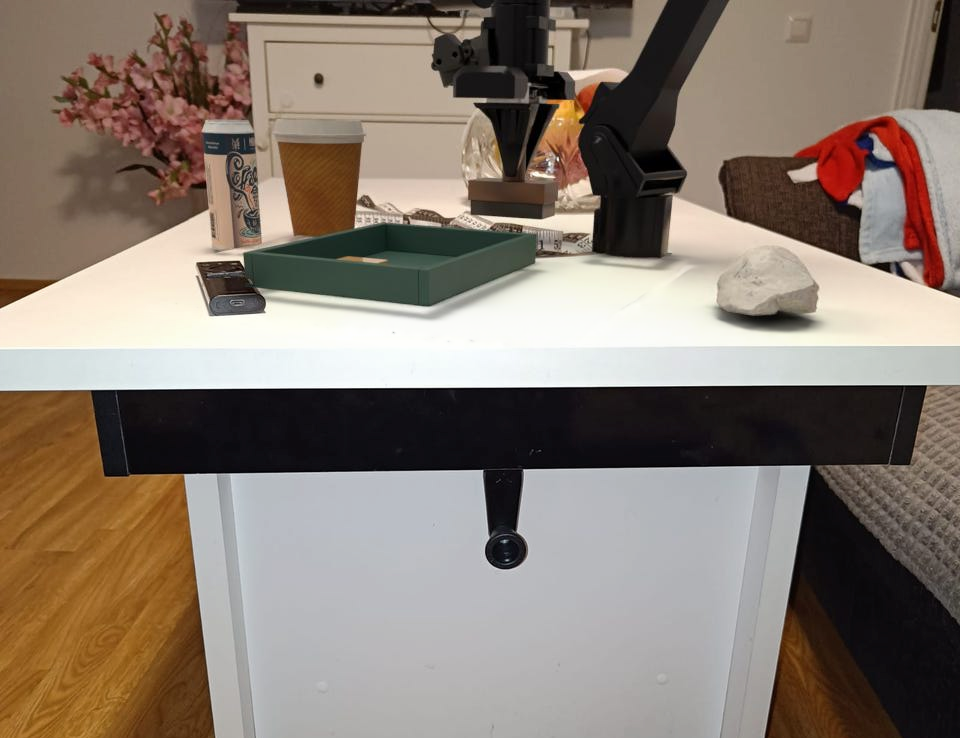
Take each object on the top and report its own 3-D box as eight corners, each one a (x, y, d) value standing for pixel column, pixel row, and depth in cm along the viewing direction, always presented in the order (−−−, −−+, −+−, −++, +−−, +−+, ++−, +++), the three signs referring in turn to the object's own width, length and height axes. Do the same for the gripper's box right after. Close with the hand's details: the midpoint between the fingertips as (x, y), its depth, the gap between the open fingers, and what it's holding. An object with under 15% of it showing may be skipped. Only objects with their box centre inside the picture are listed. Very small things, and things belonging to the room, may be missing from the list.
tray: (535, 271, 84) (536, 233, 83) (428, 317, 65) (428, 270, 64) (383, 257, 89) (382, 222, 88) (245, 296, 71) (242, 252, 70)
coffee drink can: (249, 255, 89) (239, 121, 84) (203, 253, 90) (191, 120, 85) (270, 248, 93) (261, 120, 89) (225, 246, 94) (215, 119, 89)
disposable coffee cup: (386, 238, 101) (384, 120, 96) (328, 249, 94) (323, 121, 89) (320, 231, 106) (315, 118, 101) (259, 240, 98) (251, 118, 94)
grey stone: (846, 322, 66) (858, 251, 65) (768, 334, 62) (779, 259, 61) (755, 300, 73) (763, 235, 71) (679, 310, 69) (686, 242, 67)
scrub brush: (557, 215, 98) (561, 129, 95) (543, 220, 94) (546, 130, 91) (484, 211, 101) (485, 127, 98) (467, 215, 97) (468, 128, 94)
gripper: (482, 16, 101) (480, 167, 107) (401, -1, 85) (404, 178, 91) (580, 14, 97) (572, 172, 103) (514, -4, 81) (509, 183, 87)
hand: (515, 175), depth 96 cm, fingers closed on scrub brush, 2 cm apart
